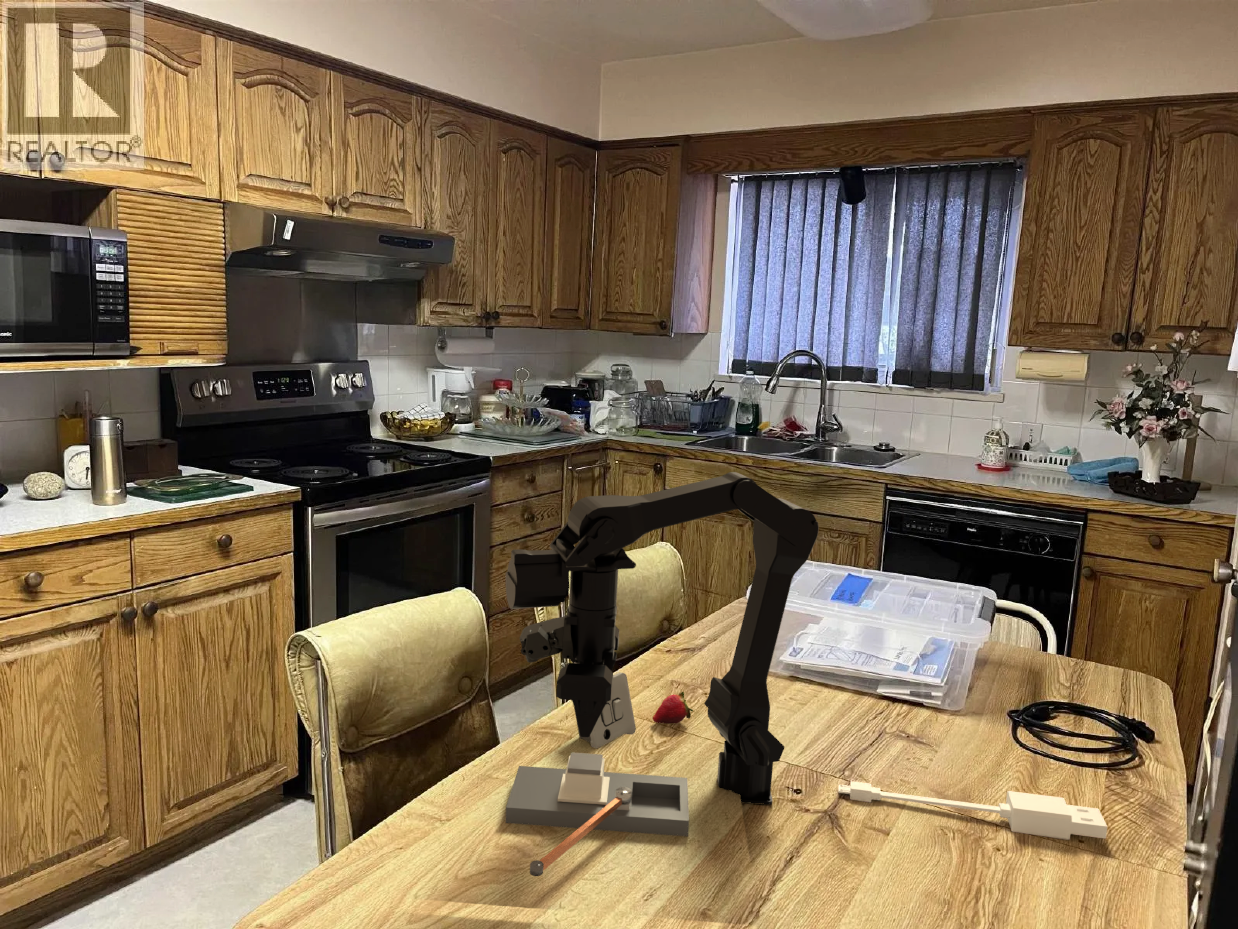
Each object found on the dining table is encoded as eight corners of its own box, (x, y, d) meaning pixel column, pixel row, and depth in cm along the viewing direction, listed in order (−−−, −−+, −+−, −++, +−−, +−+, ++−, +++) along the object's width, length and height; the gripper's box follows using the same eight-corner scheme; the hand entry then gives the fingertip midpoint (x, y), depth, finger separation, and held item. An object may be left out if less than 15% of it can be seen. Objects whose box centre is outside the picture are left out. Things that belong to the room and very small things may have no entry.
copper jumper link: (620, 794, 113) (621, 785, 112) (634, 799, 112) (635, 790, 111) (524, 873, 96) (525, 862, 96) (540, 880, 95) (540, 869, 95)
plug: (608, 794, 118) (611, 751, 116) (605, 820, 112) (608, 775, 111) (562, 791, 118) (564, 748, 117) (557, 817, 112) (558, 771, 111)
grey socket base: (685, 799, 119) (687, 772, 119) (687, 843, 109) (689, 815, 109) (518, 787, 120) (519, 760, 120) (505, 830, 110) (506, 801, 110)
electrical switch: (596, 756, 129) (594, 693, 128) (569, 747, 133) (567, 685, 132) (637, 734, 137) (635, 674, 136) (610, 726, 140) (608, 667, 139)
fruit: (648, 717, 142) (650, 687, 141) (685, 716, 143) (687, 686, 142) (654, 730, 138) (656, 699, 137) (692, 728, 139) (695, 698, 138)
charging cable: (838, 791, 126) (839, 768, 125) (1095, 824, 118) (1098, 800, 117) (837, 810, 121) (838, 787, 120) (1106, 846, 113) (1108, 822, 112)
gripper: (537, 576, 119) (533, 688, 122) (513, 625, 101) (509, 756, 104) (622, 581, 119) (616, 693, 122) (614, 632, 101) (607, 763, 103)
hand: (587, 724), depth 113 cm, fingers open, 6 cm apart
